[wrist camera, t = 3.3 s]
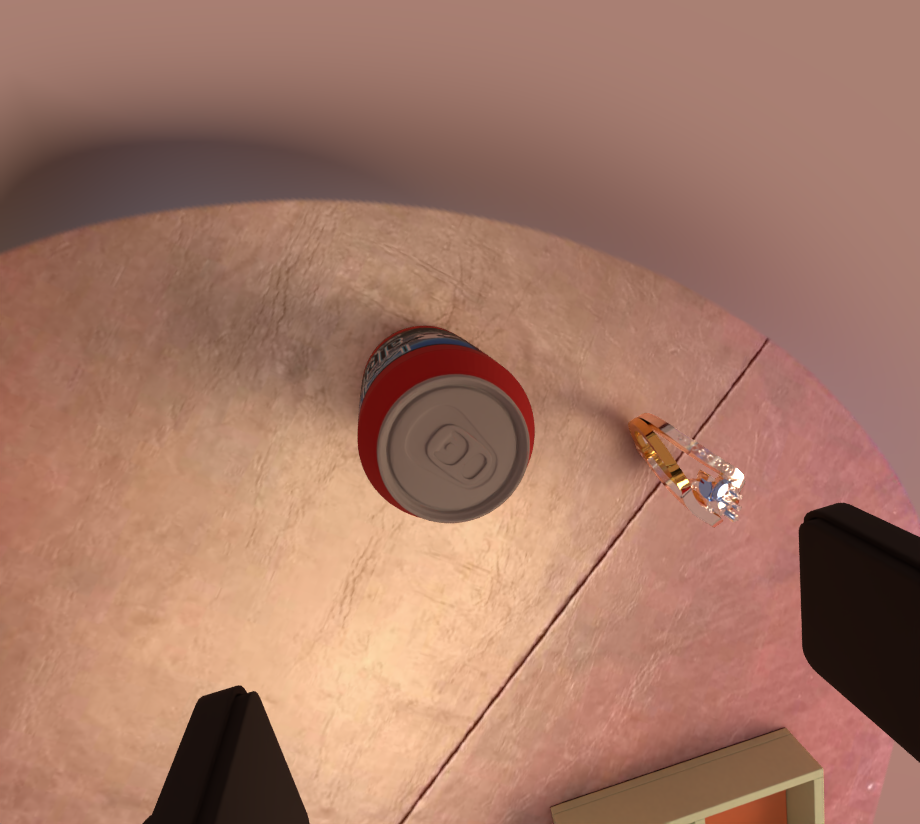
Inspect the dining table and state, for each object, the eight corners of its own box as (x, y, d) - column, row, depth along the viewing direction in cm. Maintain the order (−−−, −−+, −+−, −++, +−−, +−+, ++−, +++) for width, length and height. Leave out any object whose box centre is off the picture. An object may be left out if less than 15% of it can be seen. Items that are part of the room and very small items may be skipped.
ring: (686, 474, 34) (778, 532, 26) (644, 501, 34) (725, 568, 26) (639, 387, 32) (725, 422, 24) (595, 416, 32) (667, 461, 24)
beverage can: (415, 297, 28) (445, 311, 17) (505, 376, 30) (587, 437, 19) (336, 392, 29) (313, 469, 17) (429, 463, 31) (464, 575, 19)
